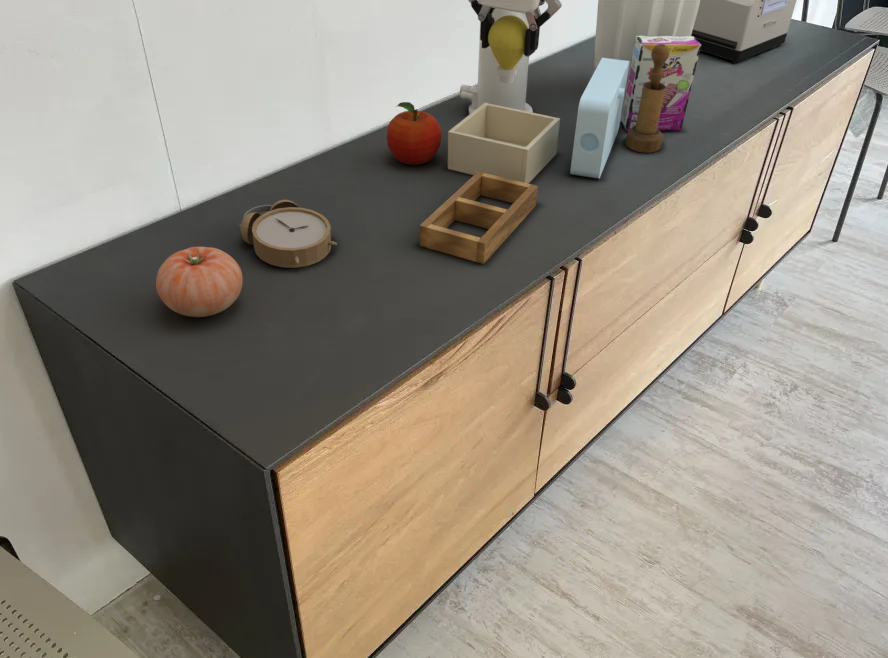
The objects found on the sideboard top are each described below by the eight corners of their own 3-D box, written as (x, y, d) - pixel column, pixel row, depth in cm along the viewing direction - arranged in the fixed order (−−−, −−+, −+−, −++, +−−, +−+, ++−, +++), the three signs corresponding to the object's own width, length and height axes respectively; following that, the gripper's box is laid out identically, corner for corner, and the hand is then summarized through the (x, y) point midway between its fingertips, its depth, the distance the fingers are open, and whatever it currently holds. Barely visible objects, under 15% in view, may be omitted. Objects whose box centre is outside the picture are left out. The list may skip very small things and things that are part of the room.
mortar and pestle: (660, 154, 142) (681, 53, 130) (624, 151, 143) (642, 49, 131) (660, 139, 147) (680, 40, 135) (625, 136, 148) (642, 37, 136)
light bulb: (493, 90, 125) (496, 24, 118) (480, 74, 129) (483, 11, 123) (532, 86, 126) (538, 21, 119) (519, 71, 131) (523, 8, 124)
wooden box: (447, 169, 136) (448, 131, 131) (483, 138, 146) (484, 102, 141) (524, 188, 131) (528, 149, 126) (556, 154, 141) (560, 118, 136)
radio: (603, 182, 133) (615, 106, 124) (569, 177, 134) (579, 101, 125) (623, 129, 150) (635, 59, 141) (593, 125, 151) (603, 55, 142)
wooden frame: (419, 246, 116) (419, 225, 114) (477, 190, 130) (478, 171, 128) (483, 264, 113) (484, 243, 110) (536, 205, 126) (538, 185, 124)
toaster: (735, 66, 178) (756, -16, 166) (646, 39, 191) (660, -39, 180) (788, 45, 190) (810, -33, 178) (700, 20, 204) (716, -54, 192)
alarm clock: (286, 261, 107) (220, 206, 113) (286, 288, 111) (222, 234, 116) (348, 231, 113) (282, 181, 119) (346, 257, 117) (282, 207, 123)
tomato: (148, 324, 100) (133, 272, 95) (185, 279, 108) (172, 228, 103) (227, 335, 99) (216, 282, 94) (259, 288, 107) (250, 237, 102)
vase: (698, 106, 159) (732, -42, 141) (616, 119, 154) (640, -35, 136) (646, 74, 173) (672, -65, 155) (569, 84, 167) (586, -59, 149)
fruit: (426, 176, 133) (426, 119, 127) (377, 165, 136) (375, 109, 130) (450, 154, 140) (451, 99, 134) (403, 144, 143) (402, 90, 136)
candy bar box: (625, 132, 149) (641, 43, 138) (619, 122, 153) (634, 34, 142) (683, 132, 150) (702, 43, 139) (675, 121, 153) (694, 34, 143)
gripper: (451, -79, 113) (449, 47, 125) (563, -64, 107) (550, 67, 119) (473, -89, 118) (470, 34, 130) (582, -75, 112) (567, 52, 124)
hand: (508, 48), depth 124 cm, fingers closed on light bulb, 6 cm apart
